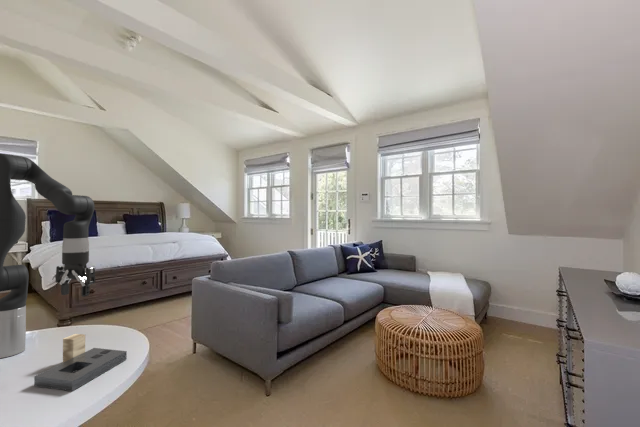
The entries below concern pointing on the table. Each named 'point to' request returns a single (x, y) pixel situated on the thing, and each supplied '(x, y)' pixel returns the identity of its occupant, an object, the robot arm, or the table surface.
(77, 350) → the maple block
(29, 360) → the table surface
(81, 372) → the metal socket plate
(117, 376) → the table surface
